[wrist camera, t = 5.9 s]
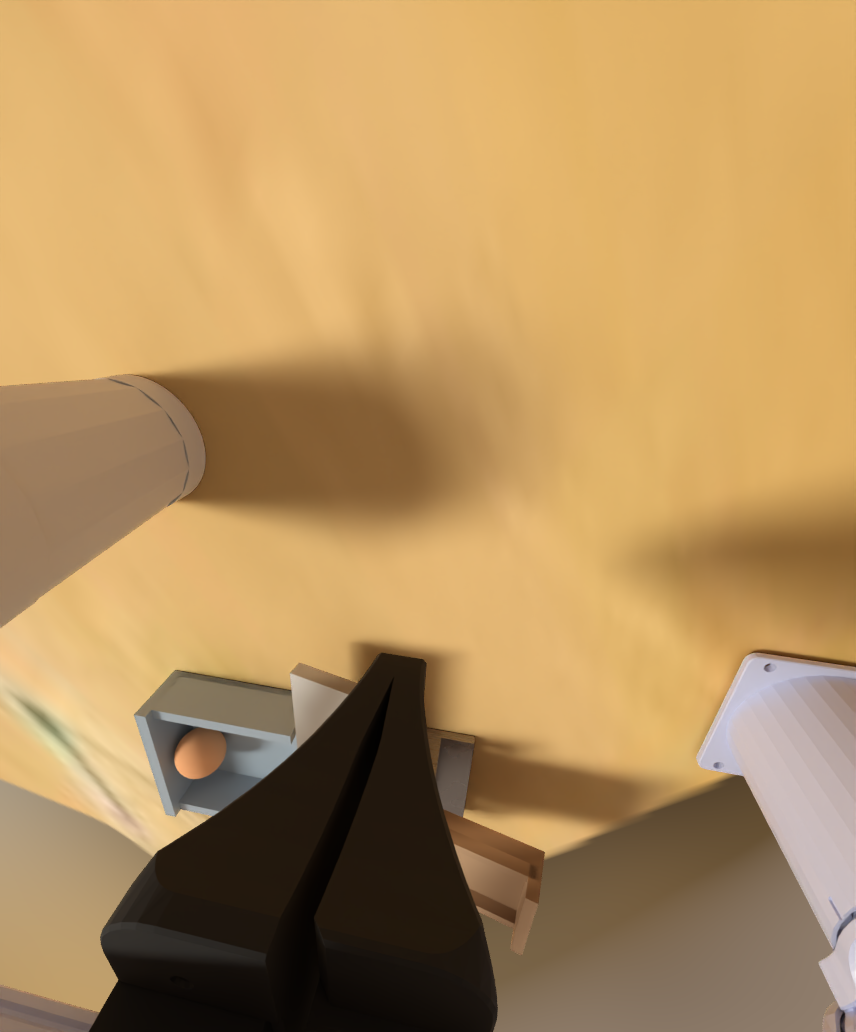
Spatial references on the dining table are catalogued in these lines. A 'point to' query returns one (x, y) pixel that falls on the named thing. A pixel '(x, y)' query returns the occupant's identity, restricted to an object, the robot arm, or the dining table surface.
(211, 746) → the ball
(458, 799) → the stand
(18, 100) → the dining table surface
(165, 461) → the cup
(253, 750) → the tray
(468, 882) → the seesaw
